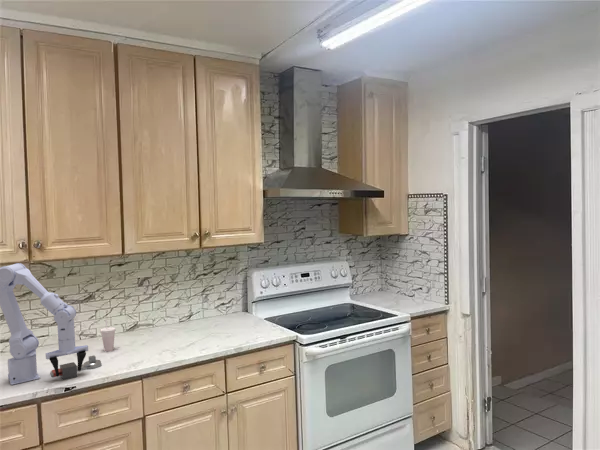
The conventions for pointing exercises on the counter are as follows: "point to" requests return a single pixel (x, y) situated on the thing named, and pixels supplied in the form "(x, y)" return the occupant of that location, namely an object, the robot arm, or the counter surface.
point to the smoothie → (108, 337)
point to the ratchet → (84, 365)
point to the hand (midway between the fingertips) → (68, 373)
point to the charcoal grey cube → (68, 371)
